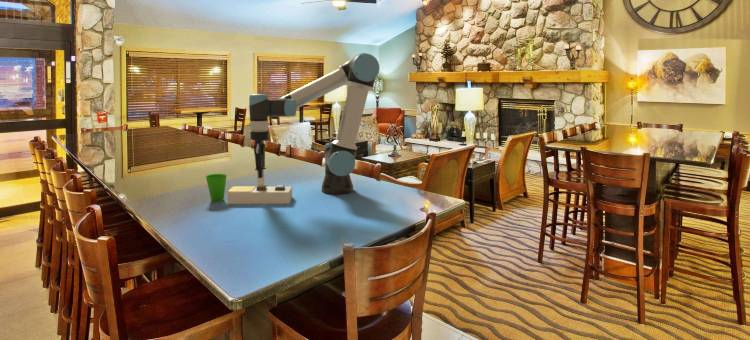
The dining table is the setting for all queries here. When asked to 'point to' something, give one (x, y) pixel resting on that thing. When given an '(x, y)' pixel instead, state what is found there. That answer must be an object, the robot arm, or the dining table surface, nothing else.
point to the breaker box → (258, 195)
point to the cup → (216, 186)
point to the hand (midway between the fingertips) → (261, 184)
